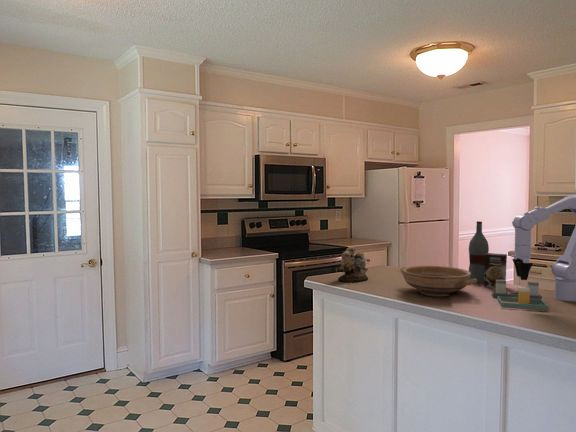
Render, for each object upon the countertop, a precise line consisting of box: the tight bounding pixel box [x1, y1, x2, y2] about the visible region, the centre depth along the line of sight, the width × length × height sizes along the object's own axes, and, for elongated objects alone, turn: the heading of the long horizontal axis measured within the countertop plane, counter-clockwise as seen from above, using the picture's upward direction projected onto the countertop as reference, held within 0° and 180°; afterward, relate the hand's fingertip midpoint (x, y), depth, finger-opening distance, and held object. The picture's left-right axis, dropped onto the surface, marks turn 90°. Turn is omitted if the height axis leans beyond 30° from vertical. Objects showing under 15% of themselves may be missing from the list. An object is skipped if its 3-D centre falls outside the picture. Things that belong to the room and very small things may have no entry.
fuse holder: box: [491, 290, 543, 300], centre depth 190 cm, size 18×7×3 cm, turn 73°
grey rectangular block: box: [527, 280, 540, 296], centre depth 188 cm, size 4×2×7 cm, turn 73°
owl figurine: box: [337, 246, 369, 284], centre depth 233 cm, size 18×12×17 cm, turn 126°
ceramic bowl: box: [399, 265, 477, 297], centre depth 203 cm, size 37×29×10 cm
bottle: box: [468, 220, 490, 285], centre depth 227 cm, size 9×9×30 cm
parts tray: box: [496, 296, 549, 313], centre depth 179 cm, size 16×11×2 cm
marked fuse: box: [517, 286, 530, 304], centre depth 179 cm, size 4×2×7 cm, turn 73°
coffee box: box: [483, 252, 508, 289], centre depth 212 cm, size 9×6×16 cm
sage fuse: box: [495, 279, 507, 294], centre depth 192 cm, size 4×2×7 cm, turn 73°
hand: (521, 278), depth 187 cm, fingers open, 7 cm apart
